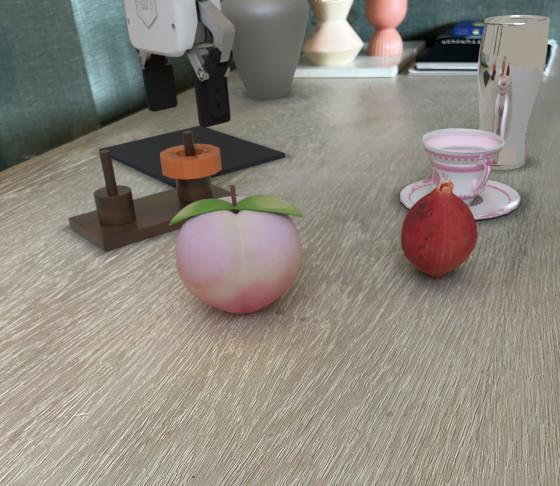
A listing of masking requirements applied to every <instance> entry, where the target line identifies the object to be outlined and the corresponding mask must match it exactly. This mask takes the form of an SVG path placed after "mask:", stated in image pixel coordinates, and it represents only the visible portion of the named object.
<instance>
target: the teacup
mask: <svg viewBox="0 0 560 486" xmlns="http://www.w3.org/2000/svg"><path fill="white" fill-rule="evenodd" d="M421 145H422V148H423V150H424V152H425V153H426V154H427V155H428V162H429V163H430V165H431V167H432V175H431V177H429V178H424V179H420V180H416V181H415V182H412V183H410V184H408V185H406V186H405V187H404V188H403V189H402V190H401V191H400V193H399V200H400V203H402V204H403V206H404V207H405V208H406V209H409V210H410V208H411V207H412V206H413V205H414V204H415V203H416V202H417V201H418V200H419V199H421V198H422V197H424V196H425V195H427V194H428V193H430V192H431V191H433V190H434V189H435V188H436V187H437V186H438V184H439V183H441V182H442V181H444V180H450V181H451V182H452V183H453V185H454V187H453V189H452V193H454V194H455V195H456V196H458V197H459V198H460V199H462V200H463V201H464V202H465V203H466V204H467V206H468V207H469V208H470V210H471V212H472V214H473V216H474V219H475V221H476V220H483V219H484V220H485V219H493V218H496V217H500V216H503V215H507V214H509V213H511V212H513V211H514V210H516V209H517V208H518V207H519V205H520V203H521V200H522V199H521V196H520V194H519V192H518V191H517V190H516V189H515V188H513V187H511V186H510V185H508V184H505V183H502V182H499V181H498V180H497V181H496V180H492V179H490V176H491V174H492V170H491V164H493V163H494V160H493V157H494V156H496V155H497V154H498V153H499V152H500V151H501V150H502V148H503V146H504V145H505V140H504V139H503V138H502V137H500V136H499V135H497V134H494V133H491V132H487V131H482V130H478V129H477V128H476V129H475V128H463V127H461V128H460V127H457V128H453V127H451V128H441V129H435V130H432V131H429V132H427V133H425V134H424V135H423V136H422V138H421ZM476 197H477V198H478V197H479V198H480V199H481V203H479V204H476V205H473V206H469V205H470V204H472V203H473V201H474V200H475V198H476Z"/></svg>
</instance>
